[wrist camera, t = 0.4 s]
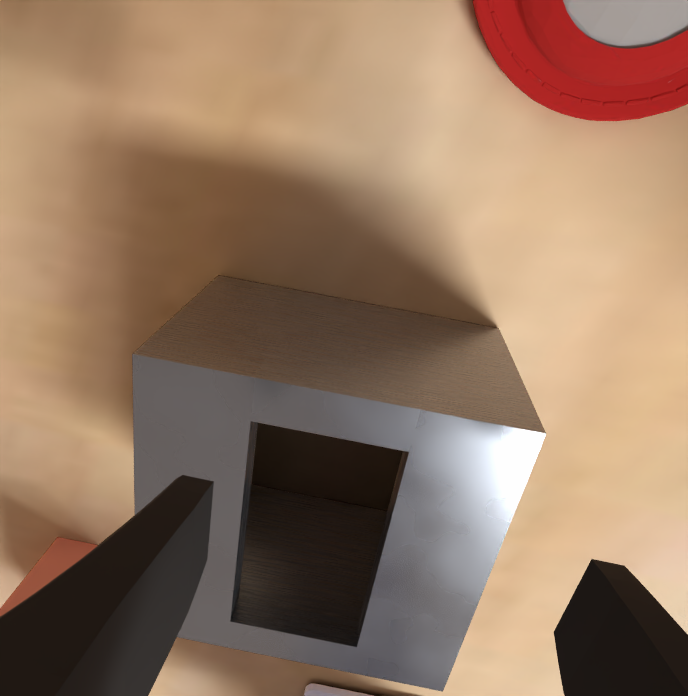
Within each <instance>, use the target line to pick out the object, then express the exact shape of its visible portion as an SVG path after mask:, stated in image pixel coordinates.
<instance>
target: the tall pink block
mask: <svg viewBox="0 0 688 696" xmlns="http://www.w3.org/2000/svg"><path fill="white" fill-rule="evenodd" d="M97 546H98V545H95V544H90V543H85V542H80V541H75V540H70V539H65V538H60V537H57V538H56V540H55V541H54V542H53V543H52V545H51V546H50V547H49V548H48V550H47V551H46V552H45V553H44V555H43V556H42V557H41V558H40V560H39V561H38V562H37V563H36V565H35V566H34V567H33V568H32V570H31V571H30V572H29V573H28V575H27V576H26V577H25V578H24V580H23V581H22V582H21V583H20V585H19V586H18V587H17V588H16V590H15V591H14V592H13V593H12V595H11V596H10V597H9V598H8V600H7V601H6V602H5V603H4V605H3V606H2V607H1V608H0V616H2V615H3V614H5V613H6V612H8V611H9V610H11V609H12V608H14V607H15V606H17V605H18V604H20V603H21V602H23V601H24V600H26V599H27V598H28V597H30V596H31V595H33V594H34V593H36V592H37V591H38V590H40V589H41V588H42V587H44V586H45V585H46V584H48V583H49V582H51V581H52V580H53V579H55V578H56V577H57V576H59V575H60V574H61V573H63V572H64V571H65V570H67V569H68V568H69V567H71V566H72V565H74V564H75V563H76V562H78V561H79V560H80V559H82V558H83V557H84V556H85V555H87V554H88V553H89V552H91V551H92V550H93V549H94V548H96V547H97Z"/></svg>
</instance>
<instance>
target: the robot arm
mask: <svg viewBox="0 0 688 696" xmlns="http://www.w3.org/2000/svg"><path fill="white" fill-rule="evenodd" d="M213 486H214V481H210V480H205V479H200V478H195V477H190V476H186V475H181V476H180V477H178V478H176V479H175V480H174V481H173V482H172V483H171V484H170V485H169V486H168V487H166V488H165V489H164V490H163V491H162V492H161V493H160V494H159V495H158V496H156V497H155V498H154V499H153V500H152V501H151V502H150V503H148V504H147V505H146V506H145V507H144V508H143V509H142V510H140V511H139V512H138V513H137V514H136V515H135V516H133V517H132V518H131V519H130V520H129V521H127V522H126V523H125V524H124V525H123V526H121V527H120V528H119V529H118V530H117V531H115V532H114V533H113V534H112V535H110V536H109V537H108V538H107V539H105V540H104V541H103V542H102V543H100V544H99V545H98V546H97V547H96V548H94V549H93V550H92V551H91V552H89V553H88V554H87V555H85V556H84V557H83V558H82V559H80V560H79V561H78V562H76V563H75V564H74V565H72V566H71V567H69V568H68V569H67V570H65V571H64V572H63V573H61V574H60V575H59V576H57V577H56V578H55V579H53V580H52V581H51V582H49V583H48V584H46V585H45V586H44V587H42V588H41V589H40V590H38V591H37V592H36V593H34V594H33V595H31V596H30V597H28V598H27V599H26V600H24V601H23V602H21V603H20V604H18V605H17V606H15V607H14V608H12V609H11V610H9V611H8V612H6V613H5V614H3V615H2V616H0V696H148V695H149V693H150V691H151V689H152V687H153V685H154V683H155V681H156V678H157V676H158V674H159V672H160V670H161V668H162V666H163V664H164V662H165V660H166V658H167V656H168V654H169V652H170V650H171V648H172V645H173V643H174V641H175V639H176V637H177V635H178V633H179V631H180V629H181V627H182V625H183V623H184V620H185V618H186V616H187V614H188V612H189V609H190V606H191V604H192V601H193V598H194V596H195V593H196V590H197V587H198V585H199V582H200V579H201V576H202V573H203V571H204V568H205V565H206V562H207V558H208V546H209V534H210V522H211V510H212V498H213ZM554 636H555V643H556V650H557V656H558V663H559V669H560V675H561V680H562V686H563V691H564V695H565V696H688V635H687V634H686V632H685V631H684V630H683V629H682V628H681V627H680V626H679V625H678V624H677V622H676V621H675V620H674V619H673V618H672V617H671V616H670V615H669V614H668V612H667V611H666V610H665V609H664V608H663V607H662V606H661V605H660V603H659V602H658V601H657V600H656V599H655V598H654V597H653V596H652V595H651V594H650V592H649V591H648V590H647V589H646V588H645V587H644V586H643V585H642V584H641V583H640V582H639V581H638V579H637V578H636V577H635V576H634V575H633V574H632V573H631V572H630V571H629V570H628V569H627V568H626V567H625V566H623V565H618V564H613V563H608V562H603V561H599V560H594V559H592V560H591V561H590V563H589V565H588V567H587V569H586V571H585V573H584V575H583V577H582V579H581V581H580V583H579V585H578V586H577V588H576V590H575V592H574V594H573V596H572V598H571V600H570V602H569V604H568V606H567V608H566V610H565V612H564V613H563V615H562V617H561V619H560V621H559V623H558V625H557V627H556V629H555V631H554ZM304 696H374V695H369V694H364V693H359V692H354V691H349V690H344V689H339V688H335V687H330V686H325V685H320V684H314V683H312V684H309V685H307V686H306V688H305V692H304Z"/></svg>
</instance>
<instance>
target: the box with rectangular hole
mask: <svg viewBox="0 0 688 696" xmlns="http://www.w3.org/2000/svg"><path fill="white" fill-rule="evenodd" d="M132 361H133V428H134V494H135V515H136V514H137V513H138V512H139V511H140V510H142V509H143V508H144V507H145V506H146V505H147V504H148V503H150V502H151V501H152V500H153V499H154V498H155V497H156V496H158V495H159V494H160V493H161V492H162V491H163V490H164V489H165V488H166V487H168V486H169V485H170V484H171V483H172V482H173V481H174V480H175V479H176V478H178V477H180V476H181V475H186V476H190V477H195V478H200V479H205V480H210V481H214V486H213V498H212V510H211V522H210V534H209V546H208V558H207V562H206V565H205V568H204V571H203V573H202V576H201V579H200V582H199V585H198V587H197V590H196V593H195V596H194V598H193V601H192V604H191V606H190V609H189V612H188V614H187V616H186V618H185V620H184V623H183V625H182V627H181V629H180V631H179V633H178V635H177V637H179V638H184V639H189V640H194V641H199V642H203V643H208V644H213V645H218V646H223V647H228V648H233V649H238V650H243V651H247V652H252V653H257V654H262V655H267V656H272V657H277V658H282V659H287V660H292V661H296V662H301V663H306V664H311V665H316V666H321V667H326V668H331V669H336V670H340V671H345V672H350V673H355V674H360V675H365V676H370V677H375V678H380V679H384V680H389V681H394V682H399V683H404V684H409V685H414V686H419V687H424V688H429V689H433V690H438V691H443V690H444V687H445V685H446V682H447V680H448V677H449V675H450V672H451V670H452V667H453V665H454V662H455V660H456V657H457V655H458V652H459V650H460V647H461V645H462V642H463V640H464V637H465V635H466V632H467V630H468V627H469V625H470V622H471V620H472V617H473V615H474V612H475V610H476V607H477V605H478V602H479V600H480V597H481V595H482V592H483V590H484V587H485V585H486V582H487V580H488V577H489V575H490V572H491V570H492V567H493V565H494V562H495V560H496V558H497V555H498V553H499V550H500V548H501V545H502V543H503V540H504V538H505V535H506V533H507V530H508V528H509V525H510V523H511V520H512V518H513V515H514V513H515V510H516V508H517V505H518V503H519V500H520V498H521V495H522V493H523V490H524V488H525V485H526V483H527V480H528V478H529V475H530V473H531V470H532V468H533V465H534V463H535V460H536V458H537V455H538V453H539V450H540V448H541V445H542V443H543V440H544V438H545V435H546V433H545V430H544V428H543V426H542V424H541V422H540V419H539V417H538V415H537V413H536V410H535V408H534V406H533V404H532V401H531V399H530V397H529V395H528V393H527V390H526V388H525V386H524V384H523V381H522V379H521V377H520V375H519V372H518V370H517V368H516V366H515V364H514V361H513V359H512V357H511V355H510V352H509V350H508V348H507V346H506V343H505V341H504V339H503V337H502V335H501V332H500V330H499V328H494V327H489V326H484V325H478V324H473V323H468V322H463V321H457V320H452V319H447V318H441V317H436V316H431V315H426V314H420V313H415V312H410V311H404V310H399V309H394V308H389V307H383V306H378V305H373V304H367V303H362V302H357V301H352V300H346V299H341V298H336V297H331V296H325V295H320V294H315V293H309V292H304V291H299V290H294V289H288V288H283V287H278V286H272V285H267V284H262V283H257V282H251V281H246V280H241V279H235V278H230V277H225V276H220V275H218V276H217V277H216V278H215V279H214V280H213V281H212V282H211V283H210V284H209V285H207V286H206V287H205V288H204V289H203V290H202V291H201V292H200V293H199V294H198V295H196V296H195V297H194V298H193V299H192V300H191V301H190V302H189V303H188V304H187V305H185V306H184V307H183V308H182V309H181V310H180V311H179V312H178V313H177V314H176V315H175V316H173V317H172V318H171V319H170V320H169V321H168V322H167V323H166V324H165V325H164V326H162V327H161V328H160V329H159V330H158V331H157V332H156V333H155V334H154V335H153V336H151V337H150V338H149V339H148V340H147V341H146V342H145V343H144V344H143V345H142V346H141V347H139V348H138V349H137V350H136V351H135V352H134V353H133V354H132ZM258 423H263V424H268V425H273V426H278V427H283V428H288V429H293V430H299V431H304V432H309V433H314V434H319V435H324V436H329V437H335V438H340V439H345V440H350V441H355V442H360V443H365V444H370V445H376V446H381V447H386V448H391V449H396V450H401V451H403V453H402V456H401V460H400V464H399V468H398V472H397V476H396V479H395V483H394V487H393V491H392V495H391V499H390V502H389V506H388V510H387V511H384V510H379V509H374V508H369V507H364V506H358V505H353V504H348V503H343V502H338V501H333V500H328V499H323V498H318V497H313V496H308V495H303V494H298V493H293V492H288V491H283V490H277V489H272V488H267V487H262V486H257V485H252V484H251V483H252V474H253V464H254V455H255V446H256V437H257V428H258Z"/></svg>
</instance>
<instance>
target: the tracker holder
mask: <svg viewBox="0 0 688 696" xmlns="http://www.w3.org/2000/svg"><path fill="white" fill-rule="evenodd" d="M473 5H474V10H475V14H476V18H477V21H478V24H479V28H480V30H481V33H482V35H483V37H484V39H485V42H486V44H487V46H488V49H489V50H490V52H491V54H492V56H493V58H494V60H495V61H496V63H497V64H498V66H499V67H500V69H501V70H502V71H503V72H504V73H505V74H506V76H507V77H508V78H509V79H510V80H511V81H512V83H513V84H514V85H515V86H517V87H518V88H519V89H520V90H521V91H523V92H524V93H525V94H526V95H527V96H529V97H530V98H531V99H533V100H534V101H536V102H538V103H540V104H541V105H543V106H545V107H547V108H549V109H551V110H554V111H556V112H559V113H561V114H565V115H568V116H572V117H575V118H580V119H586V120H594V121H622V120H631V119H640V118H644V117H648V116H652V115H656V114H660V113H663V112H667V111H671V110H674V109H676V108H679V107H681V106H684V105H686V104H688V0H473Z"/></svg>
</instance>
